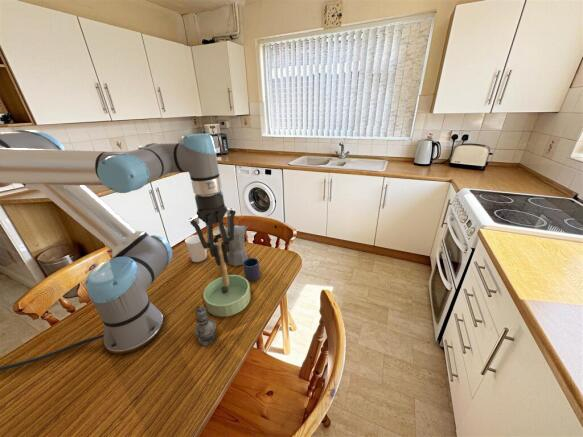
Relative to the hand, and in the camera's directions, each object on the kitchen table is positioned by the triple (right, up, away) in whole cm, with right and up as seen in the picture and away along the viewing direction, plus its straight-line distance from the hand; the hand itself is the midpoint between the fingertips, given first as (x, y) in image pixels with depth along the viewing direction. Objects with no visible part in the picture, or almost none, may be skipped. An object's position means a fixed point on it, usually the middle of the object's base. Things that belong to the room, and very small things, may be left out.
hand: (222, 262), depth 76 cm
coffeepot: (-2, -5, +28) cm, 28 cm away
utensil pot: (+7, -9, +18) cm, 21 cm away
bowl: (0, -15, +7) cm, 16 cm away
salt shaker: (-2, -21, -6) cm, 22 cm away
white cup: (-19, -4, +31) cm, 37 cm away
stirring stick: (0, -8, +4) cm, 9 cm away
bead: (-2, -12, +9) cm, 15 cm away
